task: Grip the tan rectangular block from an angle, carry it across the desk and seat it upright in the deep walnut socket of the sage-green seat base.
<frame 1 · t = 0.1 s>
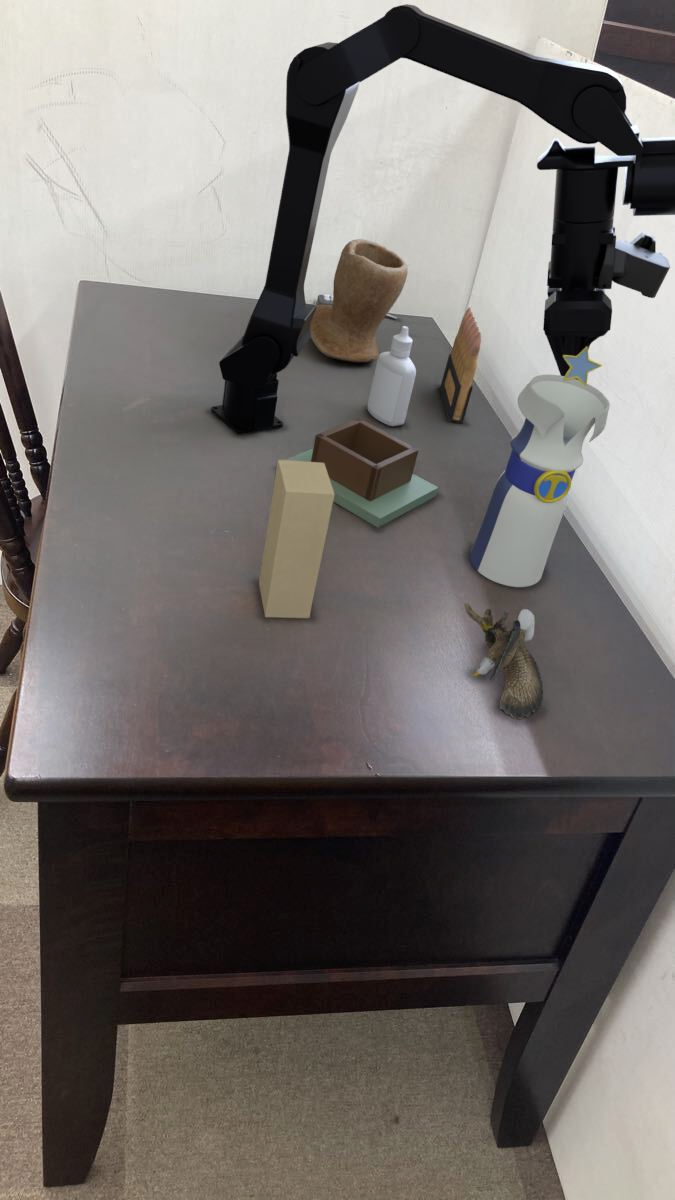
hand: (570, 371, 96), 15 cm above the table, tool pointing down, fingers open, 9 cm apart
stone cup: (345, 348, 131), on the table
white superhero chess piece: (507, 566, 92), on the table
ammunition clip: (450, 406, 122), on the table
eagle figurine: (496, 680, 77), on the table
seat base: (358, 483, 100), on the table
key chain: (356, 311, 145), on the table
eye dropper bottle: (384, 418, 115), on the table
tan rectangular block: (283, 600, 81), on the table
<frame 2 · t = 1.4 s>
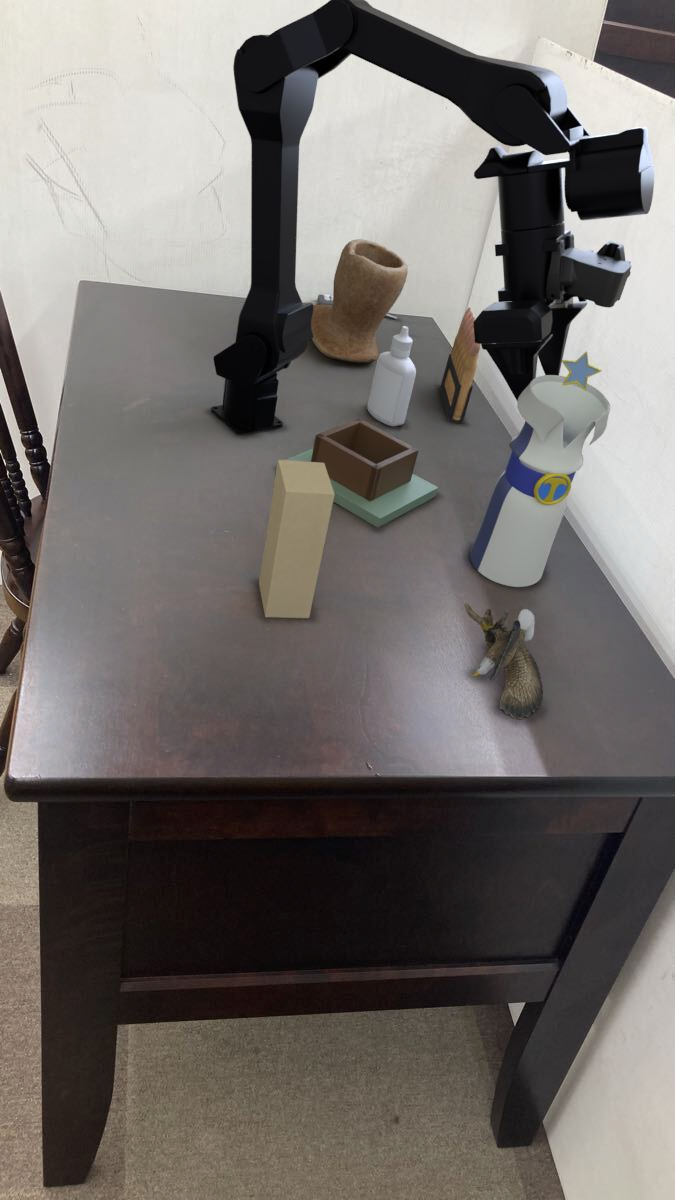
hand: (540, 392, 89), 16 cm above the table, tool tilted 20°, fingers open, 9 cm apart
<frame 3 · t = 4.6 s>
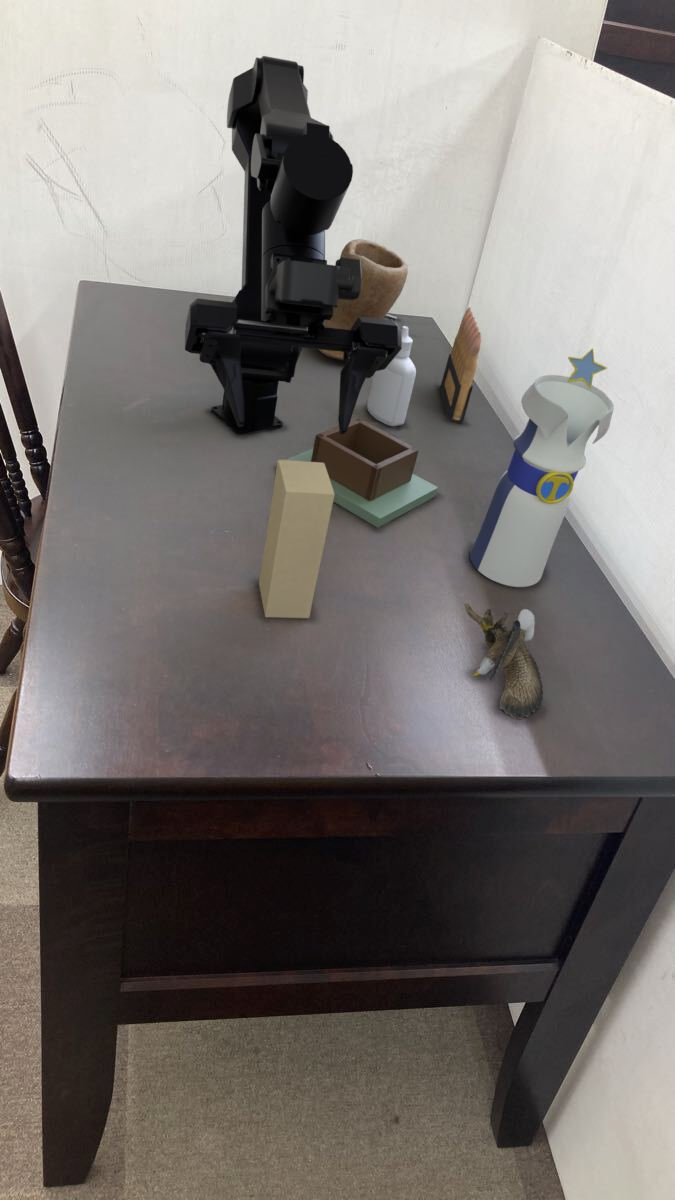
hand: (292, 429, 79), 13 cm above the table, tool tilted 45°, fingers open, 9 cm apart
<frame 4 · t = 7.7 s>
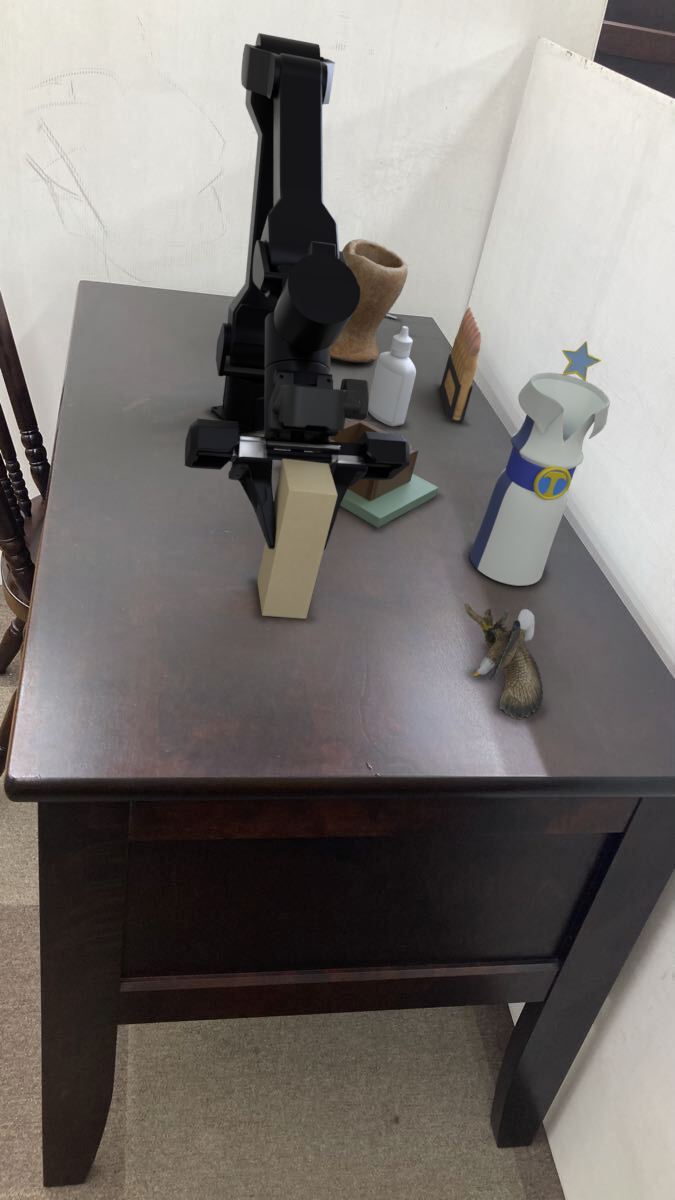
hand: (297, 549, 76), 7 cm above the table, tool tilted 45°, fingers closed on tan rectangular block, 4 cm apart
tan rectangular block: (281, 599, 81), on the table, touching gripper
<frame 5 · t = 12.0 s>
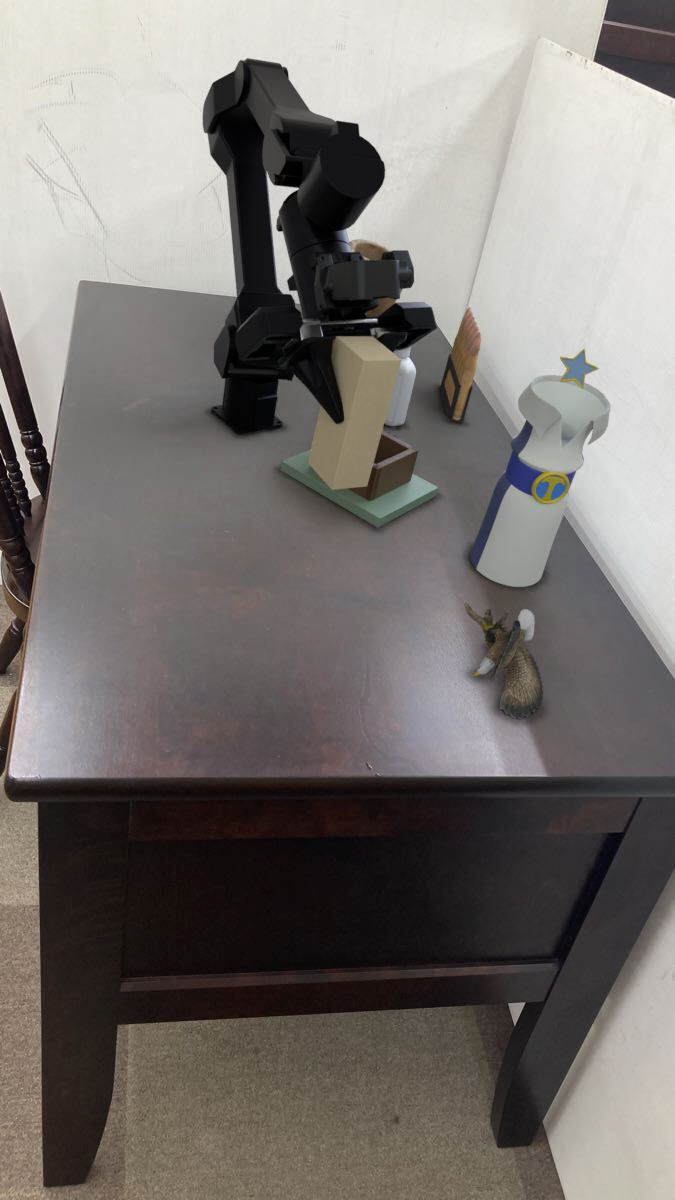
hand: (360, 420, 82), 14 cm above the table, tool tilted 45°, fingers closed on tan rectangular block, 4 cm apart
tan rectangular block: (337, 474, 86), point 7 cm above the table, touching gripper
when the fingers open (8 cm above the table, at t = 16.7 s): tan rectangular block stays where it is, resting on seat base.
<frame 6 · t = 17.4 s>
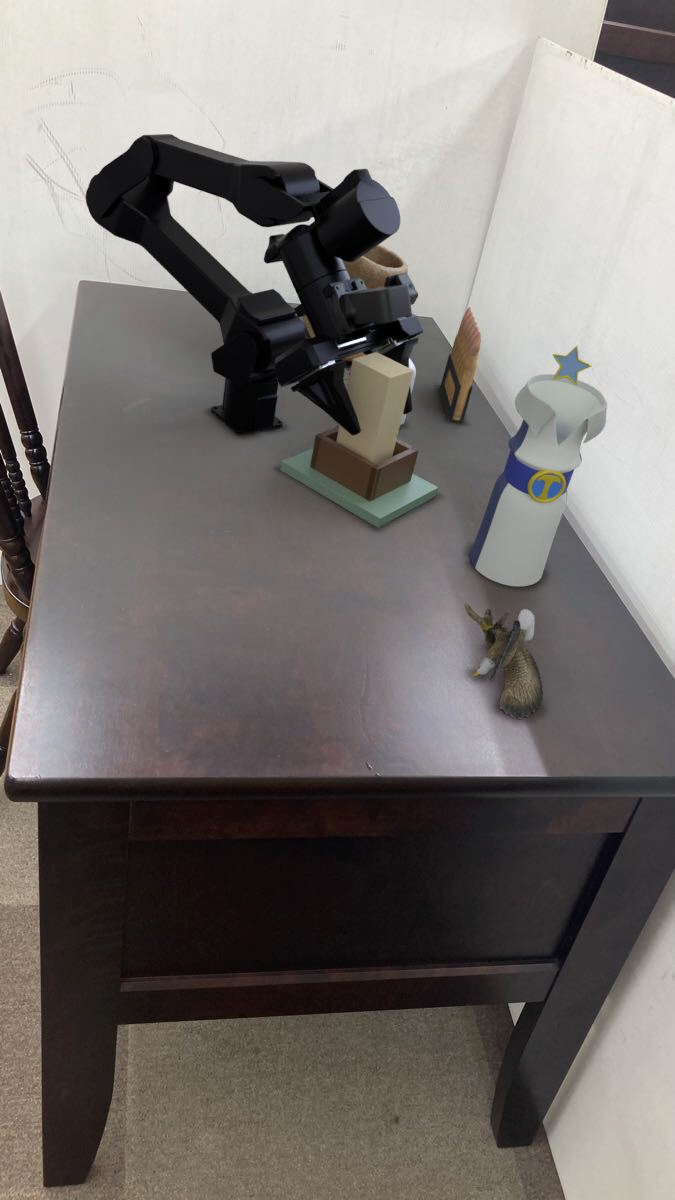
hand: (383, 423, 95), 8 cm above the table, tool tilted 45°, fingers open, 9 cm apart
tan rectangular block: (358, 474, 99), point 1 cm above the table, touching seat base
everything else where it was.
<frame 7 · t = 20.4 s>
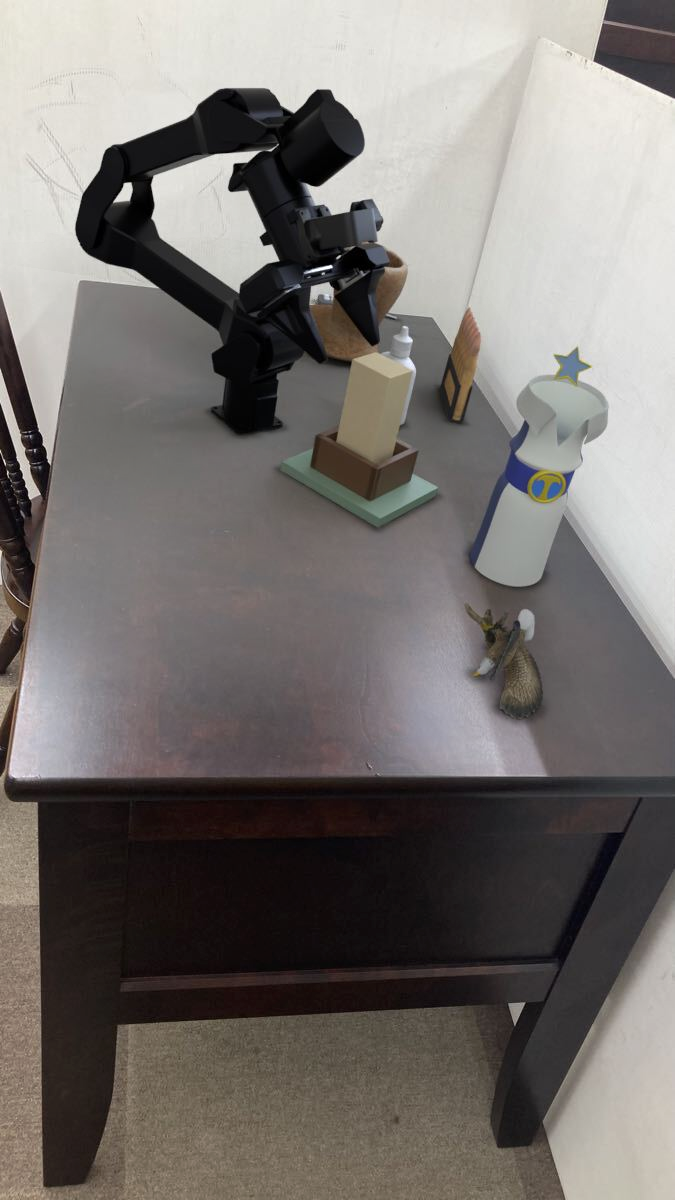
hand: (350, 353, 94), 14 cm above the table, tool tilted 45°, fingers open, 9 cm apart
nothing on the table moved.
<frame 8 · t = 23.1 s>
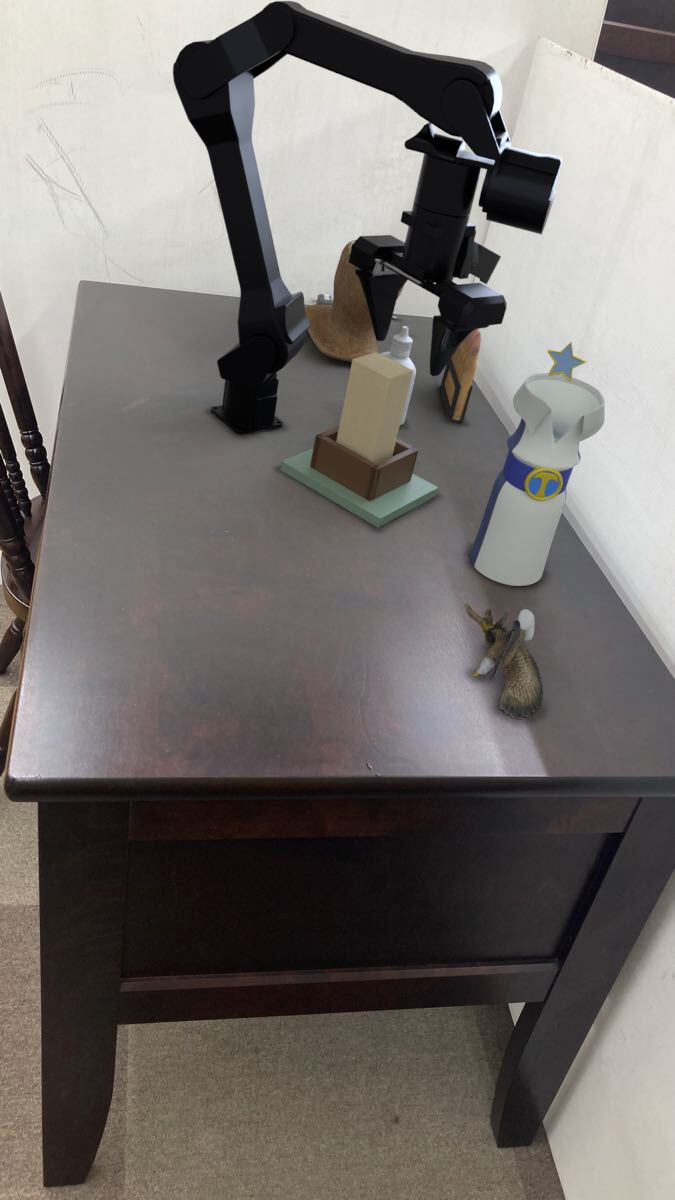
hand: (406, 357, 97), 13 cm above the table, tool pointing down, fingers open, 9 cm apart
nothing on the table moved.
at the end: tan rectangular block 0.3 cm off-centre on the seat base, point 1.2 cm above the seat base's base; tan rectangular block tilted 0°; the gripper is holding nothing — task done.
